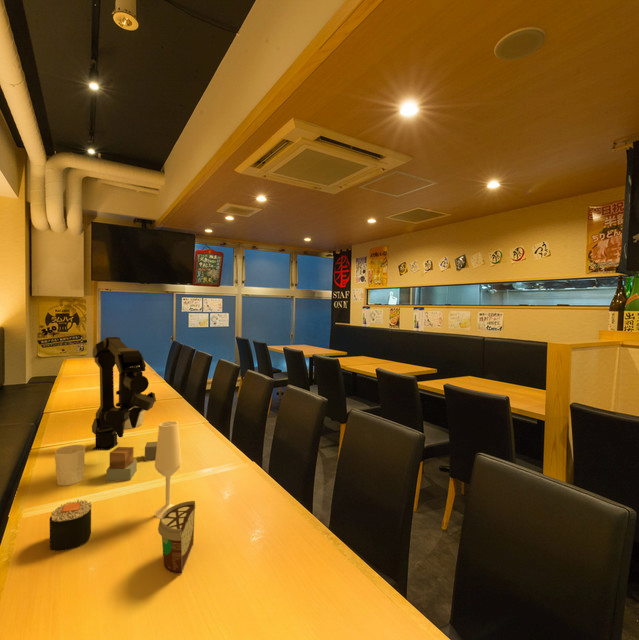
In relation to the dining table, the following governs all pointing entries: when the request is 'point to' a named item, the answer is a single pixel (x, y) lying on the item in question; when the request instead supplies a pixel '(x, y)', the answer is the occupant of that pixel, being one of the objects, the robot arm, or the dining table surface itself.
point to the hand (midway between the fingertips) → (127, 432)
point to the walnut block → (121, 457)
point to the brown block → (150, 451)
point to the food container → (177, 535)
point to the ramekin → (139, 422)
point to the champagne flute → (167, 457)
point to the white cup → (69, 464)
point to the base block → (121, 473)
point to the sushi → (70, 525)
